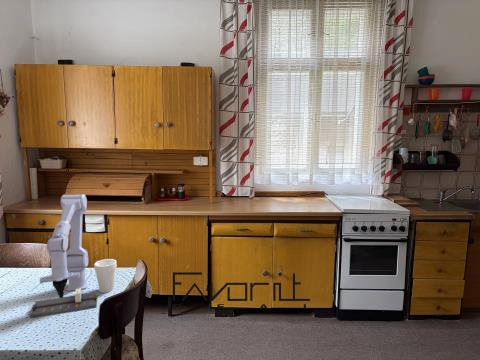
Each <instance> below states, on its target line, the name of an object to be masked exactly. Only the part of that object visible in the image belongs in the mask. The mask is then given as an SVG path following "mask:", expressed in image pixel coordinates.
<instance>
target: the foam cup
mask: <svg viewBox="0 0 480 360" xmlns="http://www.w3.org/2000/svg"><path fill="white" fill-rule="evenodd" d="M117 266H118V265H117V260H116V259H114V258H107V259H106V258H104V259H100V260H97V261H96V262H95V263H94V271H95V274H96V279H97V286H98V289H99V292H100V293H110V292H113V290H114V289H115V283H116V275H117V273H116V272H117Z"/></svg>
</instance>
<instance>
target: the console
mask: <svg viewBox="0 0 480 360" xmlns="http://www.w3.org/2000/svg"><path fill="white" fill-rule="evenodd" d="M81 295H82V297H81V302H76V303H75V294H74V295H68V296H63V297H62V298H59V297H55V298H49V299H42V300H37V301H35V303H34V304H32V307H31V309H32V310H31V312H30V314H29V318H30V319H33V318H38V317H46V316H50V315H58V314H62V313H68V312H73V311H75V312H76V311H79V310H80V311H81V310H87V309H92V308H97V305H98V303H97V302H98V291H95V292H89V293H81Z"/></svg>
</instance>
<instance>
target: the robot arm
mask: <svg viewBox="0 0 480 360" xmlns="http://www.w3.org/2000/svg"><path fill="white" fill-rule="evenodd" d="M87 205H88V199H87V196H86V194H84V193H82V194H63V195H62V196H61V197H60V206H61V209H62V210H61V211H62V212H61V217H60V221H58V222H57V223H56V224H55V228H54V230H53V233H52V237H50V238H49V239H48V240H47V243H46V251H47V252H48V256H49V257H50V264H51V265H50V267H51V274H50V275H47V276H43V277H42V276H41V277H40V278H39V284H41V285H42V284H44V283H51V282H52V286H53V287H54V289H55V291H56V292H57V295H58V298H62V297H65V296H64V295H65V294H64V292H65V288H66V285H67V284H68V285H67V290H66V291H67V292H71V291H76V289H79V288H81V290H85V289H87V287H88V286H87V285H88V279H86V268H87V267H88V265H89V255H88V251H87V250H86V249H85V248H83V246H82V245H83V244H82V242H83V241H82V239H83V237H82V236H83V215H84V213H85V212H87V208H88V206H87ZM70 223H71V224H70ZM69 235H70V244H69ZM68 247H69V249H68Z"/></svg>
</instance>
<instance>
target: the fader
mask: <svg viewBox="0 0 480 360" xmlns="http://www.w3.org/2000/svg"><path fill="white" fill-rule="evenodd" d="M74 291H75V292H74V295H75V303H76V302H81V297H82V295H81V294H82V289H81V288H79V289H76V290H74Z"/></svg>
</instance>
